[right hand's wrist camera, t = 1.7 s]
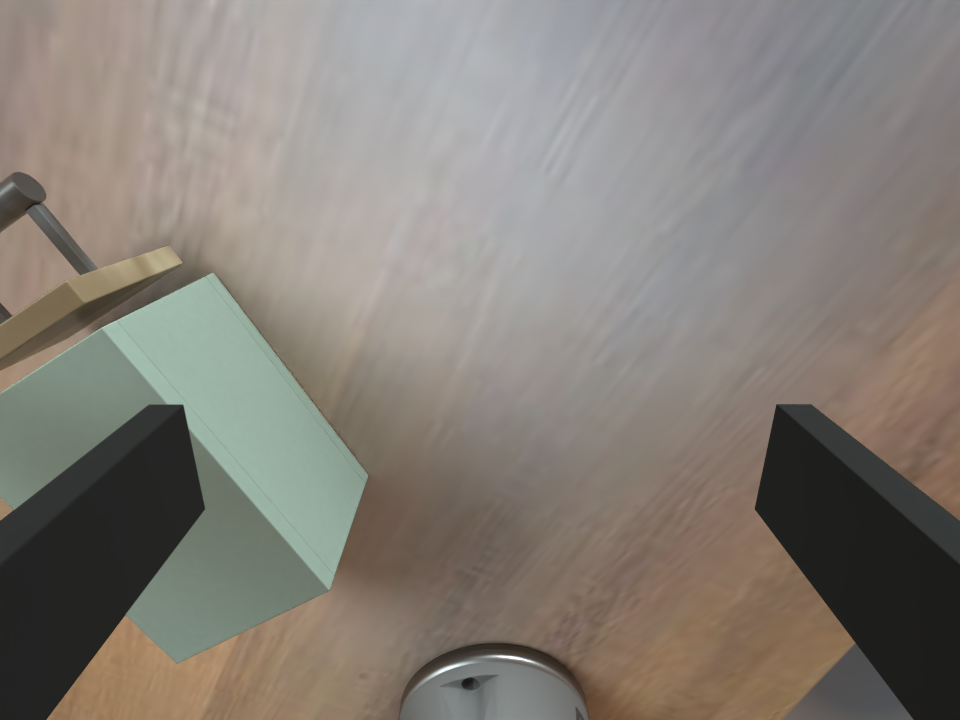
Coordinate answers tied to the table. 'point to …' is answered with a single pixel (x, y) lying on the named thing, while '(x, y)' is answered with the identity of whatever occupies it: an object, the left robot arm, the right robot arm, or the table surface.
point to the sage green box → (200, 460)
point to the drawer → (75, 298)
